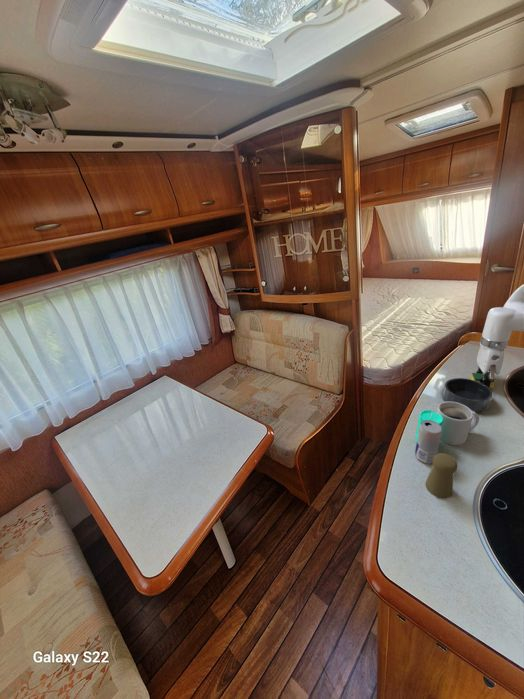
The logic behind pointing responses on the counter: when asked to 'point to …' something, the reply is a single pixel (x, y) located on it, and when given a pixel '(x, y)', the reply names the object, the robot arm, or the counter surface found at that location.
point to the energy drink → (428, 441)
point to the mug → (456, 422)
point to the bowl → (468, 394)
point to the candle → (428, 416)
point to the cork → (441, 476)
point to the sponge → (478, 376)
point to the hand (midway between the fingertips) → (481, 383)
